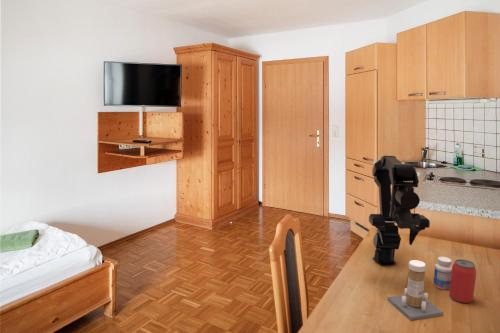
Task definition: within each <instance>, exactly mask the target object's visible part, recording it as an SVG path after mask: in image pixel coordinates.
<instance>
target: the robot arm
mask: <svg viewBox="0 0 500 333" xmlns="http://www.w3.org/2000/svg"><path fill="white" fill-rule="evenodd" d="M371 172H372V177H373V181H374V183H375V184H376V186H377V187H378V198H379V213H370V214H369V216H368V222H369V224H371V226H372V227H374V228H375V229H376V232H375V234H374V237H373V239H372V243H373V244H372V245H374V248H375V250H374V257H373V258H372V260H374V261H375V262H376V263H378V264H379V265H381V266H384V267H385V266H391V265H393V266H394V265H396V264H397V261H395V251H396V250H399V248H400V245H401V240H402V237H401V234H399V229H400V230H403V229H409V238H408V242H409V243H408V244H409V245H410V246H412V245H413V243H414V241H415V239H416V237H417V236H418V234H419V232H421V231H424V230H426V229H428V228H430V227H431V221H430V219H428V218H427V217H426V216H425V215H423V214H420V213H412V212H411V210H414V209H416V208H417V207H419V204H420V201H421V199H420V197H419V195H418V194H417V193H416V192H415V188H418V187H419V183H420V181H419V176H418V172H417V170H416V168H415V166H414V165H413V164H410V163H402V162H401V161H400V160H399V159H397V156H395V155H383V156H381V158H380V159H379V160H378V161H376V162H375V163H373V166H372V171H371ZM391 186H392V187H391Z"/></svg>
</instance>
